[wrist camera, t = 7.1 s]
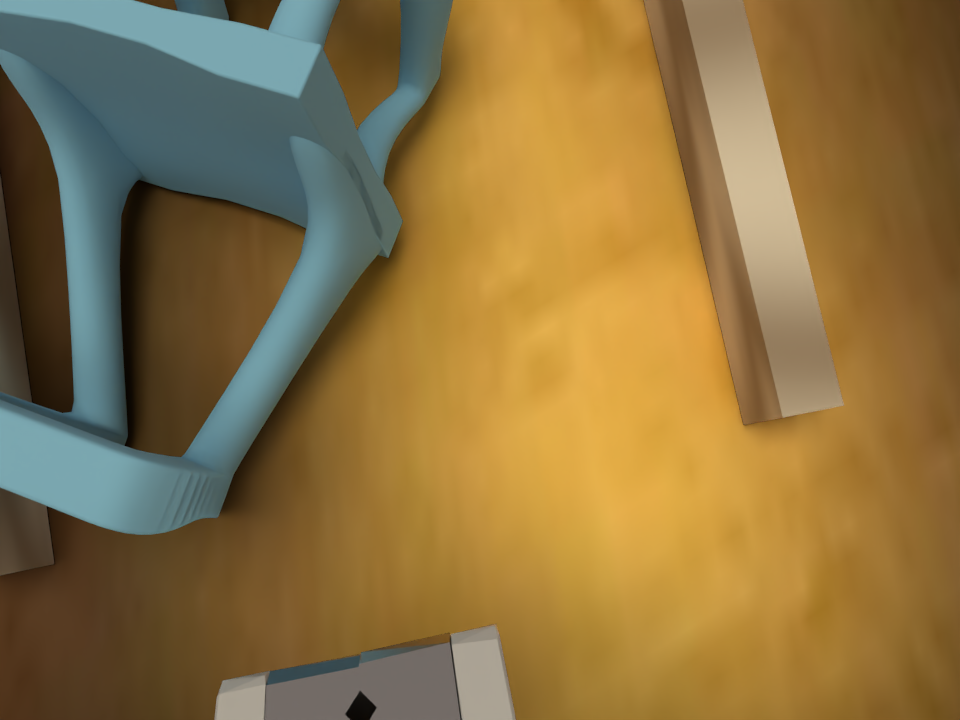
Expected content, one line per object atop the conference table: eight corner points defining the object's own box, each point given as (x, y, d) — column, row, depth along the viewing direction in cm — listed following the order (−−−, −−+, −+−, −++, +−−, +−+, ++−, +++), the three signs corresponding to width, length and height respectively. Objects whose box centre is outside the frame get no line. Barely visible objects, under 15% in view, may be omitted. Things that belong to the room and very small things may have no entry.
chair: (317, 560, 19) (513, 57, 21) (122, 537, 11) (474, -273, 13) (-2, 438, 20) (215, -22, 22) (-390, 335, 12) (14, -364, 14)
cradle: (797, 414, 20) (843, 405, 17) (-3, 575, 19) (-73, 590, 17) (635, -250, 22) (656, -343, 19) (-94, -124, 21) (-169, -203, 19)
